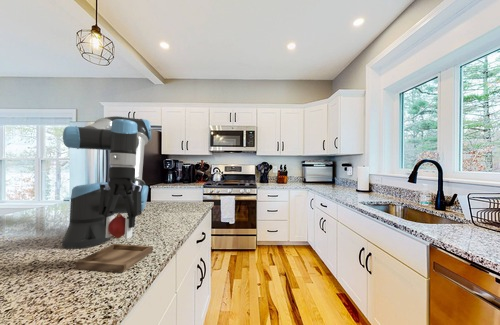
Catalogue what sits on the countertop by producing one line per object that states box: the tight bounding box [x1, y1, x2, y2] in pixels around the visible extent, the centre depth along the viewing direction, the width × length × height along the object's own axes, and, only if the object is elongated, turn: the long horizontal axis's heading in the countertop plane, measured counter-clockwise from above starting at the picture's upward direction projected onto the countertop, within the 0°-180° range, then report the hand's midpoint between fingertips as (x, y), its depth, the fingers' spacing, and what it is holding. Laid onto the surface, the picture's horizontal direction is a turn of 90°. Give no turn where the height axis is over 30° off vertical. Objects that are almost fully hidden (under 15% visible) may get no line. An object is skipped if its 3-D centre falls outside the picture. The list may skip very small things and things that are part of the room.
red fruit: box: [108, 213, 127, 239], centre depth 68 cm, size 6×6×8 cm
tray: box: [75, 243, 154, 273], centre depth 68 cm, size 15×15×2 cm
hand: (119, 236), depth 68 cm, fingers closed on red fruit, 6 cm apart
